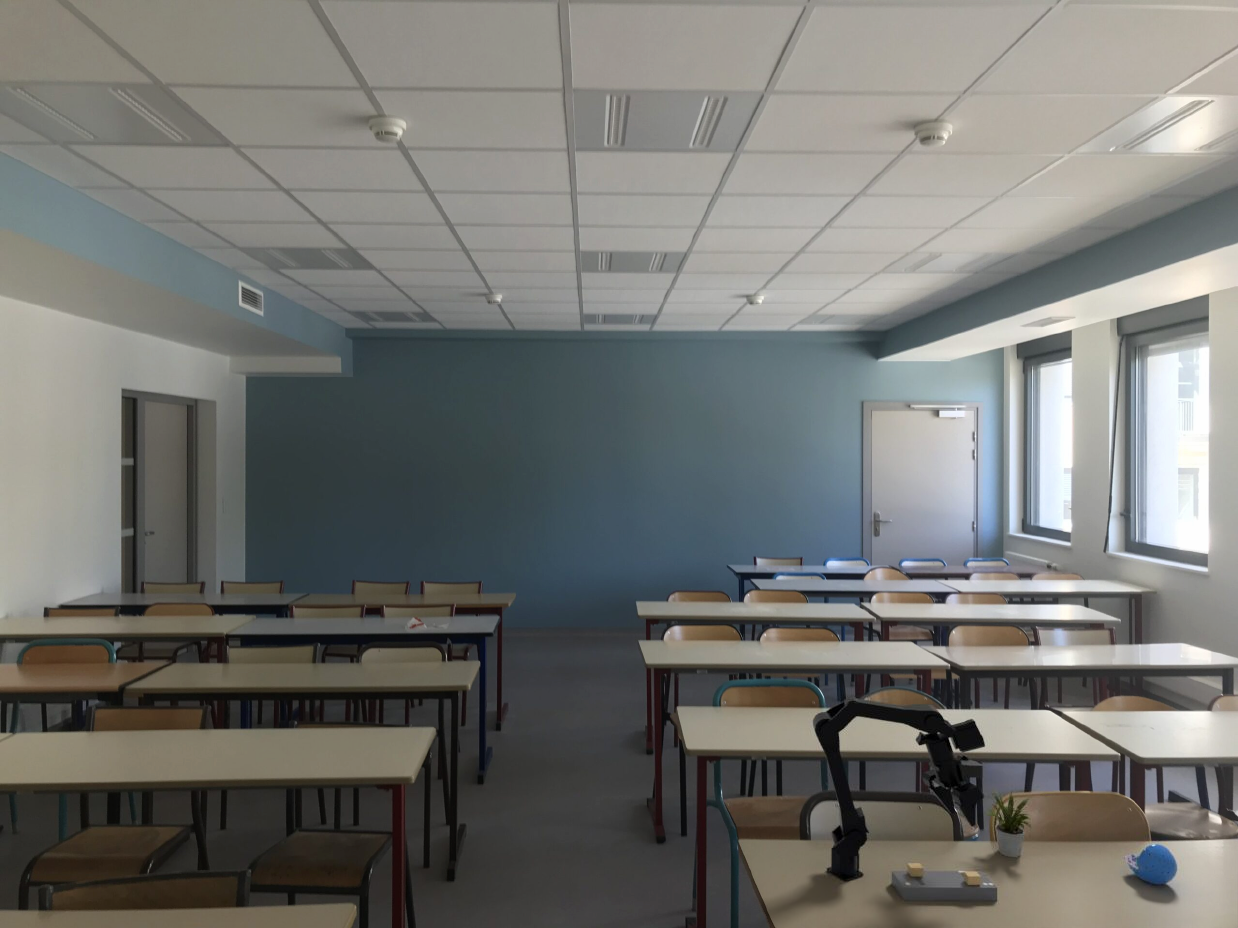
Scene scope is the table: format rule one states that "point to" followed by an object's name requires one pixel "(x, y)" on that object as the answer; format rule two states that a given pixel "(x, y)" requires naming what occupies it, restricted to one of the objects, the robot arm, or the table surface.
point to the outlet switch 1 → (915, 869)
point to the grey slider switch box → (943, 886)
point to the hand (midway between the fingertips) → (963, 819)
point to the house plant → (1010, 826)
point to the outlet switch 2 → (972, 878)
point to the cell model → (1153, 864)
